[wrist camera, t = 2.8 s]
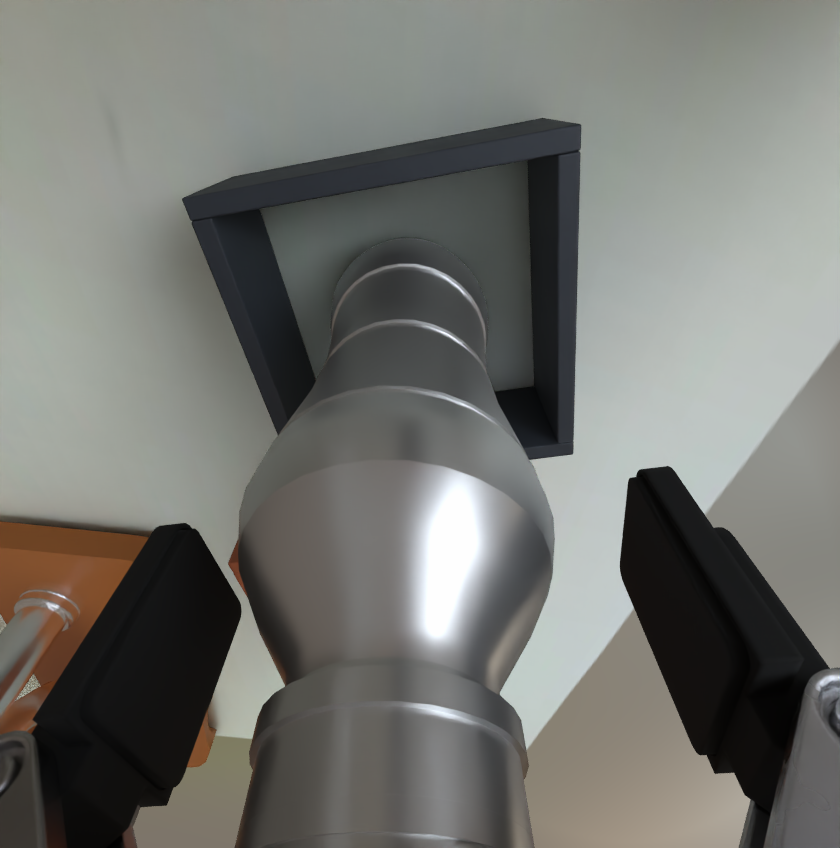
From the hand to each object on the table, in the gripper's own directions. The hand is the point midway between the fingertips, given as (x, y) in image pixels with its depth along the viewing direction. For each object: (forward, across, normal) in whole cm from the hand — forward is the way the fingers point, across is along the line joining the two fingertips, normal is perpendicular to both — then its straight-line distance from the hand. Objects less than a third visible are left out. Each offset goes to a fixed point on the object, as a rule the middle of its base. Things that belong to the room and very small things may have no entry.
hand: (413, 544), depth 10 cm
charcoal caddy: (+14, 0, -1) cm, 14 cm away
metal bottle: (+14, 0, -1) cm, 14 cm away
